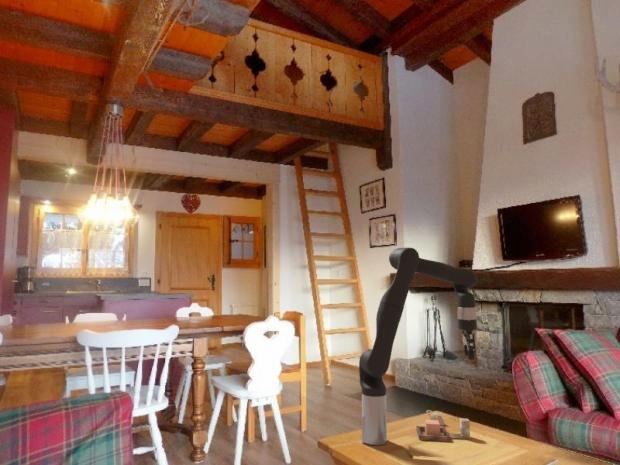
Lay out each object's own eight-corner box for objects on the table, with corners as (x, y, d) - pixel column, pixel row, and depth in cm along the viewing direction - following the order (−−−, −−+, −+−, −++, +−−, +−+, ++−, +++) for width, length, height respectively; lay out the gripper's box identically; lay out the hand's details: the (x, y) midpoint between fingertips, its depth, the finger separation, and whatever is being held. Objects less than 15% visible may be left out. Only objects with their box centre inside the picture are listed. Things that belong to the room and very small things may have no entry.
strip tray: (419, 442, 161) (418, 422, 162) (416, 432, 172) (416, 413, 173) (472, 445, 159) (471, 424, 159) (466, 434, 170) (465, 415, 170)
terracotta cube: (426, 437, 164) (426, 423, 165) (425, 432, 169) (424, 419, 169) (440, 438, 163) (439, 424, 164) (438, 433, 168) (437, 420, 169)
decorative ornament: (439, 429, 176) (438, 415, 177) (425, 423, 184) (425, 410, 185) (446, 428, 178) (446, 414, 179) (432, 422, 186) (432, 409, 186)
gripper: (455, 316, 190) (457, 354, 189) (460, 319, 176) (463, 360, 175) (472, 316, 189) (475, 354, 188) (480, 319, 175) (482, 360, 174)
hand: (469, 357), depth 181 cm, fingers open, 8 cm apart
